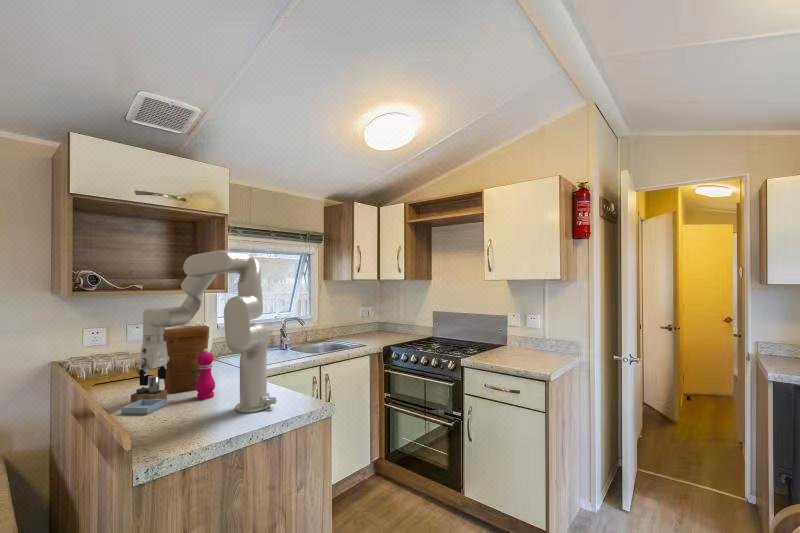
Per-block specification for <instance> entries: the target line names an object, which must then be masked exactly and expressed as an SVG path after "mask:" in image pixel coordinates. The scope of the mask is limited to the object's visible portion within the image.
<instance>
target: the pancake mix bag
mask: <svg viewBox="0 0 800 533" xmlns="http://www.w3.org/2000/svg"><path fill="white" fill-rule="evenodd" d="M209 338H210V326H208V325H197V326H195V325H194V326H185V327H179V328H167V329H166V328H165V341H166V344H167V353H168V356H169V357H170V358H169V361H168V362H169V363H168V365H167V369H166V379H163V383H164V384H163V385H164V387H163V388H164V389H163V390H167V394H176V393H184V392H191V391H196V384H197V381H198V379H199V376H200V369H199V365H200V364H199V363H198V360H197V359H198V356H199V355H200V354H201V353H204V352H203V350H204V349H208V347H209ZM208 350H209V349H208Z"/></svg>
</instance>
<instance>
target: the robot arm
mask: <svg viewBox="0 0 800 533" xmlns="http://www.w3.org/2000/svg"><path fill="white" fill-rule="evenodd" d="M182 266H183V267H182V268H183V271H184V274H186V277H184V280H183V281H182V282H181V284H180V288H181V289H182V291H183V292H184V293H185V294H186V295H187V296H186V298H185V299H184V301H183V302H182V303H181V305H180V306H174V307H165V308H163V307H147V308H145V309H144V310H142V312H143V313H142V344H141V349H140V356H139V362H138V363H137V364H136V365H135V366H134V367H135V369H136V373H137V375H138V376H139V386H141V387H146V386H149V373H150V370H155V369H157V376H159V380H164V379H166V369H167V365H168V363H169V362H168V361H169V358H170V357H169V356H168V353H167V344H166V341H165V329H166V328H172V327H177V326H183V325H186V324H188V323H189V322H191V320H193V319H194V317H195V316H196V314H197V313H198V311H199V310H200V308H201V306H202V301H203V294H204V293H205V292H206V290H207V289H208V288H209V287H210V285H211V283H212V282H213V281H214V280H215V278H216V277H217V276H218V274H219V275H221V274H238V275H239V277H238V279H237V295H235V296H232V297H231V298H229V299H228V300H227V301H226V303H225V305H224V308H223V322H224V336H225V337H224V338H225V343H226V346H227V348H228V349H229V350H230V351H231V352H232V353H235V354H240V356H239V403H237V404H236V405H235V408H234V410H235V411H236V412H239V413H246V414H247V413H256V412H257V411H258V412H261V410H262V411H265V410H267V409H268V407H269V408H270V407H271V406H272V405H276V404H277V396H275V397H274V396H273V397H271V396H270V392H268V391H267V390H268V389H267V385H268V383H267V381H268V380H267V374H268V373H267V371H268V370H267V369H268V368H267V366H268V365H267V363H268V362H267V360H268V359H267V356H268V355H267V354H268V345H269V341H270V340H269V339H270V334H269V331H268V330H269V329H268V328H267V327H266V326H265V325H264V324H262V323H259V322H252V323H251V321H253V320H255V319H258V318H260V317H261V316H262V315H263V312H264V300H263V289H262V288H263V287H262V276H261V275H262V269H261V265H260V263H259V261H258V259H257V258H256V257H255V256H253V255H252V254H249V253H246V252H243V251H238V250H237V251H234V250H226V249H225V250H224V249H222V250H221V249H220V250H213V251H209V252H203V253H197V254H196V253H195V254H192V255H190V256H188V257H187V258H186V259H185V261H184V262H183V265H182ZM266 408H267V409H266ZM264 409H265V410H264Z"/></svg>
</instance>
